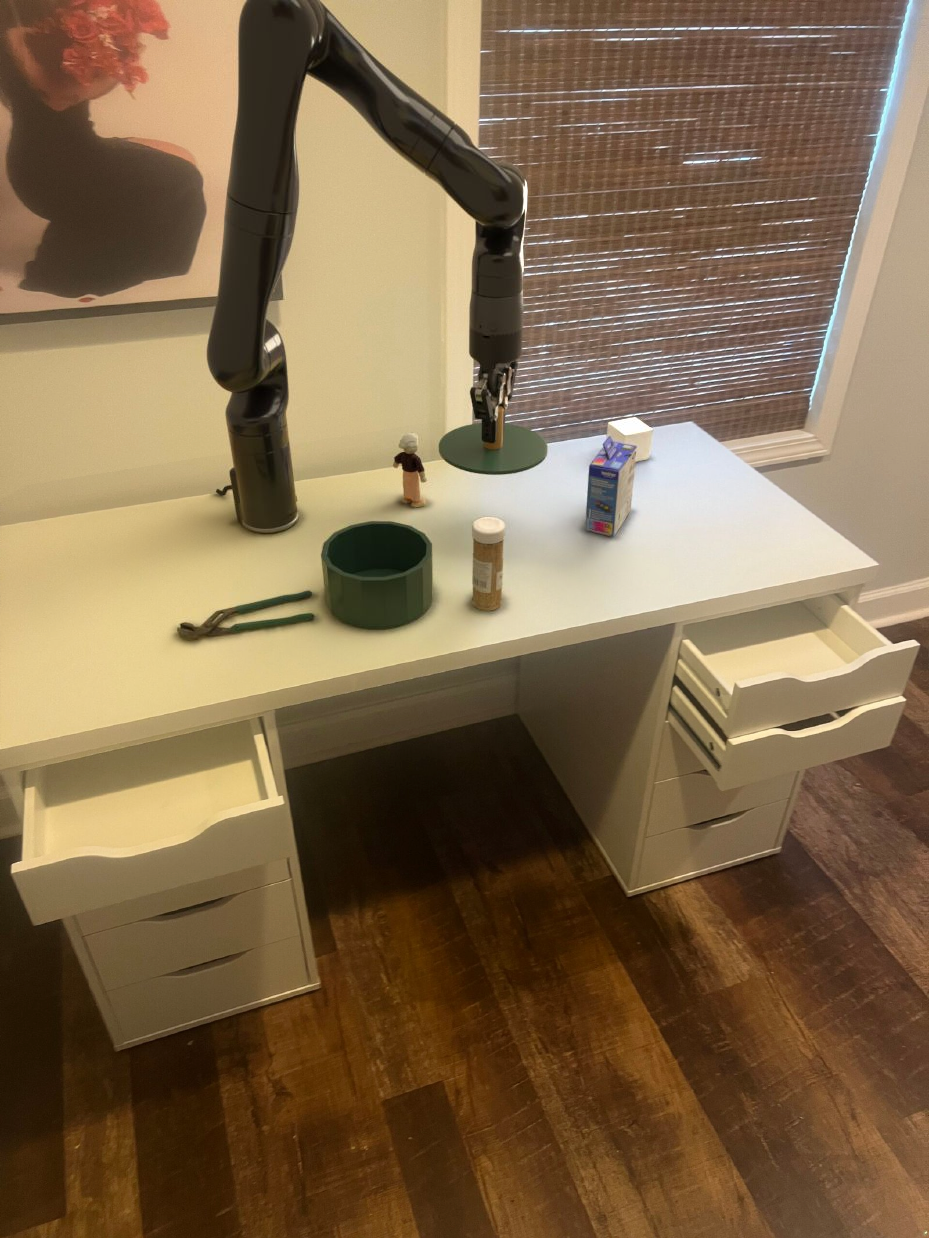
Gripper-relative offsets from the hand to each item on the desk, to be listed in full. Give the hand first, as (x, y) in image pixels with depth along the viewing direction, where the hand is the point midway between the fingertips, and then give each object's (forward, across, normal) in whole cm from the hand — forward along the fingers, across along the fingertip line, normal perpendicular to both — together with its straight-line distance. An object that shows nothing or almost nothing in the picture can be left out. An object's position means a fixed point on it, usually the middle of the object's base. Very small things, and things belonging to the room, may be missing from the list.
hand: (493, 436), depth 137 cm
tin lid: (+2, 0, 0) cm, 2 cm away
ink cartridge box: (+18, -13, +16) cm, 28 cm away
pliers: (+18, +34, -24) cm, 45 cm away
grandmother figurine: (+18, -6, -17) cm, 26 cm away
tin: (+18, +22, -9) cm, 30 cm away
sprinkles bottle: (+18, +17, +6) cm, 26 cm away
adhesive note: (+18, -38, +13) cm, 44 cm away
